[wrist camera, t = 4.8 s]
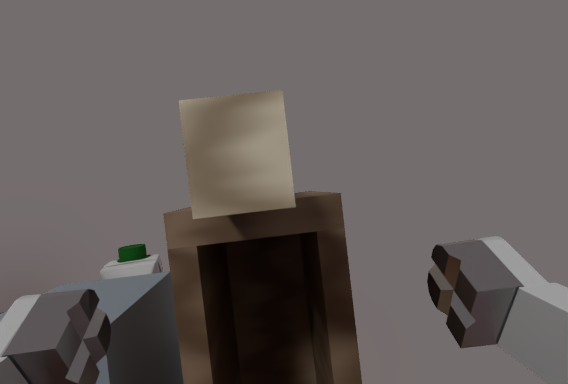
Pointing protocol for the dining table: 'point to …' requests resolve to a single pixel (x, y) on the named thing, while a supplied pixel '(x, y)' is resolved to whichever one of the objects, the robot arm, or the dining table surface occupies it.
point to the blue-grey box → (137, 329)
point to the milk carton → (132, 263)
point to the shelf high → (264, 295)
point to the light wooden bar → (237, 154)
